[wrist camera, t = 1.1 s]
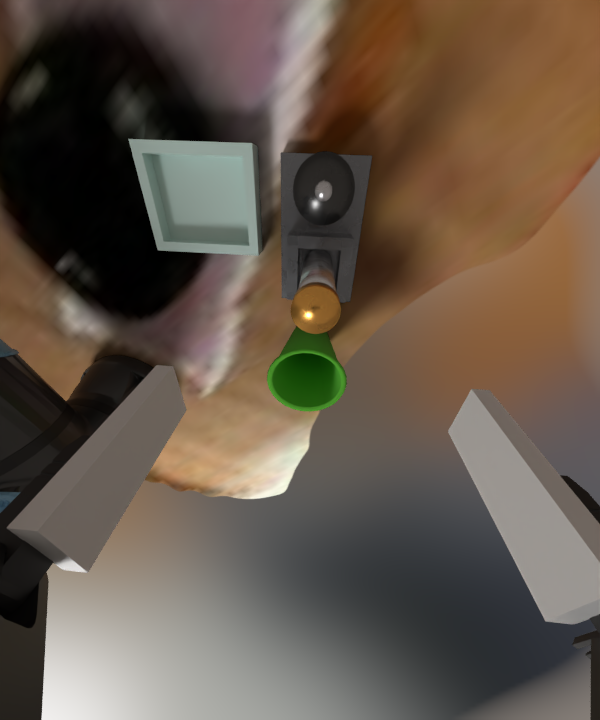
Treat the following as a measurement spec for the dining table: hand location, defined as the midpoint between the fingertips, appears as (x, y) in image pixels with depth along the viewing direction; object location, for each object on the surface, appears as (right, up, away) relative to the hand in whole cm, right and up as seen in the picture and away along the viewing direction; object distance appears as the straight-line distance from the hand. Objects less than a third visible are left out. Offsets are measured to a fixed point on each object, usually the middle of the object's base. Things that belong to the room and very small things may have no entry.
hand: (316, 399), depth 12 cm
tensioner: (+2, +17, +18) cm, 25 cm away
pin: (+1, +13, +19) cm, 24 cm away
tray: (-11, +20, +17) cm, 29 cm away
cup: (+1, +5, +26) cm, 27 cm away
